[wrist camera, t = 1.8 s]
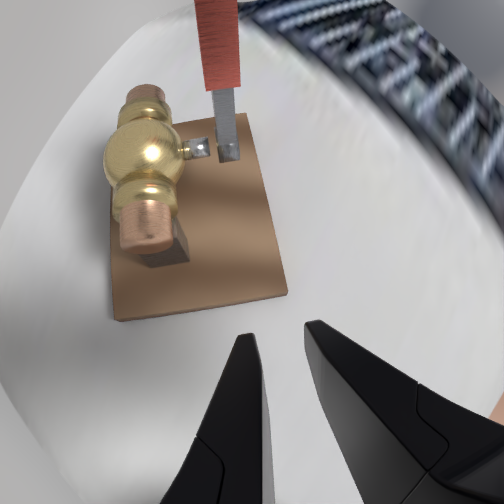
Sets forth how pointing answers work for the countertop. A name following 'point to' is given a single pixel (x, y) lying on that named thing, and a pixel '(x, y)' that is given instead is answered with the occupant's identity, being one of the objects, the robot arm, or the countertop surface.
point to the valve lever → (221, 68)
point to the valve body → (149, 177)
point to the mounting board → (206, 238)
